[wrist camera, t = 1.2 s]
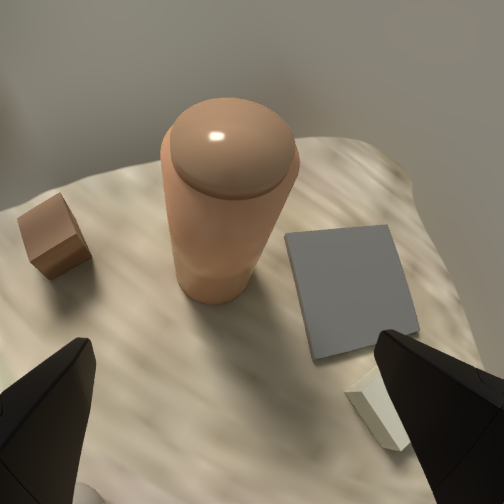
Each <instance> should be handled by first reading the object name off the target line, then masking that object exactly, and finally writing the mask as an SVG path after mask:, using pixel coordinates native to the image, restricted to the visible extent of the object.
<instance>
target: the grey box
mask: <svg viewBox="0 0 504 504" xmlns="http://www.w3.org/2000/svg"><path fill="white" fill-rule="evenodd" d="M345 394H346V395H347V397H348V398H349V400H350V401H351V403H352V404H353V406H354V407H355V409H356V410H357V412H358V413H359V415H360V416H361V418H362V419H363V420H364V422H365V423H366V425H367V426H368V428H369V429H370V431H371V432H372V434H373V435H374V437H375V438H376V440H377V441H378V443H379V444H380V445H381V447H382V448H387V449H392V450H397V451H402V450H403V449H404V448H405V447H406V446H407V445H408V444H409V443H410V440H409V438H408V435H407V433H406V431H405V429H404V427H403V425H402V422H401V420H400V418H399V416H398V414H397V412H396V410H395V408H394V406H393V404H392V401H391V399H390V397H389V395H388V393H387V390H386V388H385V385H384V382H383V379H382V377H381V374H380V371H379V368H378V366H377V365H376V366H374V367H373V368H372V369H371V370H370V371H369V372H368V373H366V374H365V375H364V376H363V377H362V378H361V379H359V380H358V381H357V382H356V383H355V384H354V385H352V386H351V387H350V388H349V389H348V390H346V391H345Z"/></svg>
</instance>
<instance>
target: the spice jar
mask: <svg viewBox="0 0 504 504" xmlns="http://www.w3.org/2000/svg"><path fill="white" fill-rule="evenodd" d="M160 156H161V166H162V175H163V184H164V193H165V201H166V209H167V217H168V224H169V231H170V238H171V245H172V252H173V258H174V265H175V271H176V277H177V280H178V283H179V285H180V286H181V288H182V289H183V291H184V292H185V293H186V294H187V295H188V296H189V297H191V298H192V299H194V300H196V301H198V302H201V303H204V304H210V305H218V304H224V303H227V302H229V301H231V300H233V299H235V298H236V297H237V296H239V295H240V294H241V293H242V292H243V290H244V289H245V287H246V286H247V283H248V281H249V279H250V277H251V275H252V273H253V271H254V268H255V266H256V264H257V262H258V260H259V258H260V256H261V253H262V251H263V249H264V247H265V245H266V243H267V241H268V238H269V236H270V234H271V232H272V230H273V228H274V226H275V223H276V221H277V219H278V217H279V215H280V213H281V210H282V208H283V206H284V204H285V202H286V200H287V197H288V195H289V193H290V191H291V189H292V187H293V184H294V182H295V180H296V178H297V176H298V172H299V167H300V159H299V153H298V149H297V147H296V144H295V140H294V136H293V134H292V132H291V130H290V128H289V127H288V125H287V124H286V123H285V122H284V120H283V119H282V118H281V117H279V115H277V114H276V113H275V112H273V111H272V110H270V109H268V108H267V107H265V106H263V105H260V104H258V103H255V102H252V101H249V100H244V99H239V98H216V99H210V100H206V101H203V102H200V103H197V104H196V105H193V106H191V107H190V108H188V109H187V110H185V111H184V112H183V113H182V114H181V115H180V116H179V117H178V118H177V120H176V121H175V123H174V124H173V126H172V127H171V128H170V129H169V130H168V132H167V134H166V135H165V137H164V139H163V142H162V146H161V154H160Z"/></svg>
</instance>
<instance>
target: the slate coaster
mask: <svg viewBox="0 0 504 504" xmlns="http://www.w3.org/2000/svg"><path fill="white" fill-rule="evenodd" d="M284 239H285V243H286V247H287V251H288V256H289V260H290V264H291V268H292V272H293V277H294V281H295V285H296V289H297V294H298V298H299V303H300V307H301V311H302V316H303V320H304V325H305V329H306V334H307V338H308V343H309V348H310V352H311V357H312V360H315V359H320V358H324V357H328V356H332V355H336V354H340V353H344V352H348V351H352V350H356V349H360V348H363V347H367V346H371V345H374V344H376V343H377V340H378V336H379V334H380V332H381V331H382V330H388V329H393V330H396V331H398V332H400V333H402V334H404V335H408V334H411V333H414V332H417V331H420V327H419V323H418V319H417V316H416V312H415V308H414V305H413V301H412V298H411V294H410V291H409V288H408V284H407V281H406V278H405V274H404V271H403V268H402V265H401V262H400V259H399V256H398V253H397V250H396V247H395V244H394V241H393V239H392V236H391V233H390V230H389V228H388V225H376V226H364V227H352V228H340V229H328V230H317V231H305V232H294V233H286V234H285V236H284Z"/></svg>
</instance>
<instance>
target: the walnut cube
mask: <svg viewBox="0 0 504 504" xmlns="http://www.w3.org/2000/svg"><path fill="white" fill-rule="evenodd" d="M17 220H18V224H19V228H20V231H21V235H22V239H23V242H24V245H25V249H26V252H27V255H28V258H29V261H30V263H31V264H33V265H34V266H35V267H36V268H37V269H38V270H39V271H40V272H41V273H42V274H44V275H45V276H46V277H47V278H48V279H49V280H50V281H52V280H54V279H55V278H57V277H58V276H60V275H62V274H63V273H65V272H67V271H68V270H70V269H72V268H73V267H75V266H77V265H78V264H80V263H82V262H83V261H85V260H87V259H89V258H90V257H92V255H91V253H90V251H89V249H88V246H87V244H86V242H85V240H84V237H83V235H82V233H81V231H80V228H79V226H78V224H77V221H76V219H75V217H74V215H73V214H72V212H71V210H70V208H69V207H68V205H67V203H66V202H65V200H64V198H63V196H62V194H61V193H58V194H56V195H55V196H53V197H51V198H49V199H48V200H46V201H44V202H43V203H41V204H39V205H38V206H36V207H34V208H33V209H31V210H30V211H28V212H26V213H25V214H23V215H22V216H20V217H19V218H17Z"/></svg>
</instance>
